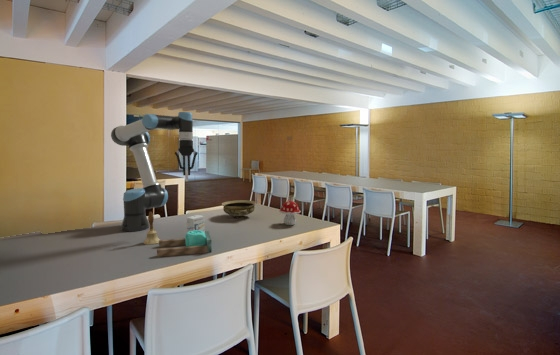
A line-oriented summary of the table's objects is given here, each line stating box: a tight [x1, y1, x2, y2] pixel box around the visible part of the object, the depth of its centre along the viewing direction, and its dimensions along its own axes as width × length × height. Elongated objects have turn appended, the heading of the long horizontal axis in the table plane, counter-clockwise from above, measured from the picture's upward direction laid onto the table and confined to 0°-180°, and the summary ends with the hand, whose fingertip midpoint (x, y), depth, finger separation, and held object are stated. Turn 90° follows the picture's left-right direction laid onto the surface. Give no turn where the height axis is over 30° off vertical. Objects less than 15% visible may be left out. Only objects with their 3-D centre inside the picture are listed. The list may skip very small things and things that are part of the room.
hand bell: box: [143, 211, 161, 246], centre depth 164 cm, size 8×8×16 cm
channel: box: [156, 230, 213, 258], centre depth 154 cm, size 24×16×6 cm, turn 107°
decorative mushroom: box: [278, 200, 302, 226], centre depth 205 cm, size 14×14×15 cm
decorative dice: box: [185, 230, 206, 247], centre depth 155 cm, size 8×8×8 cm
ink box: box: [186, 214, 206, 234], centre depth 173 cm, size 9×5×12 cm, turn 148°
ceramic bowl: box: [221, 199, 257, 219], centre depth 224 cm, size 30×24×10 cm
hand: (186, 181), depth 183 cm, fingers closed
